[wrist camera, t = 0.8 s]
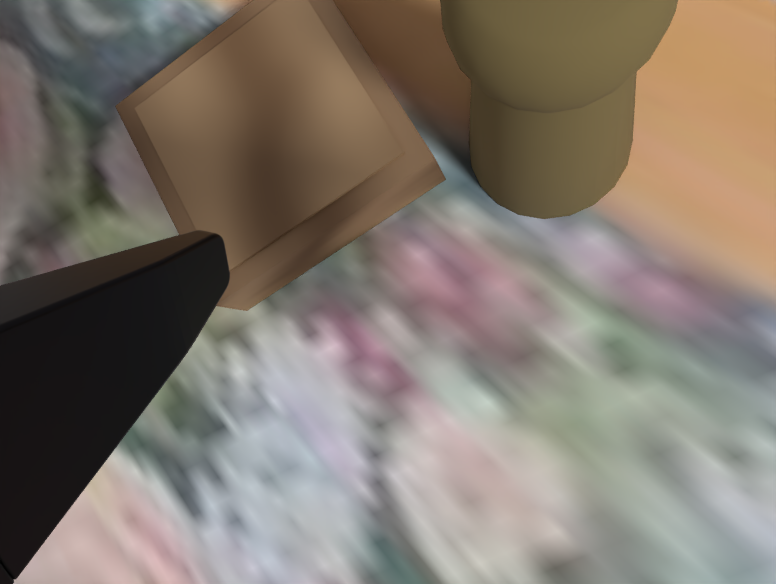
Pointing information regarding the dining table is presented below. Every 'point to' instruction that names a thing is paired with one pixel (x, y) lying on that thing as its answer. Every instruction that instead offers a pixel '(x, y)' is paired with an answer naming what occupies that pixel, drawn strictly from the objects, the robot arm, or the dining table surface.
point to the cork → (552, 94)
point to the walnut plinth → (277, 142)
